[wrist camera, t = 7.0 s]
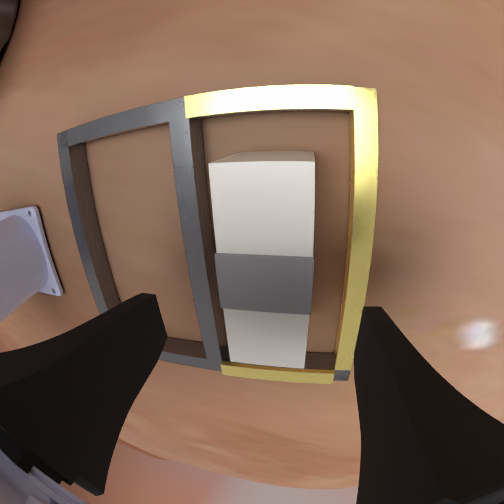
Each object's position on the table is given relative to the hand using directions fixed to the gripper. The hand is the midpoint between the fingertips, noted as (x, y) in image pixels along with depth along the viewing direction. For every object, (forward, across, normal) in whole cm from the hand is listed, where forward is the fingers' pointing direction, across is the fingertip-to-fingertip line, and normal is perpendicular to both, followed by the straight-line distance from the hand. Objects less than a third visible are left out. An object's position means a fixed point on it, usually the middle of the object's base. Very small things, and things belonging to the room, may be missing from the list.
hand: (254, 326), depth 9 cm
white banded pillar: (+6, 0, -1) cm, 6 cm away
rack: (+6, +4, 0) cm, 7 cm away
